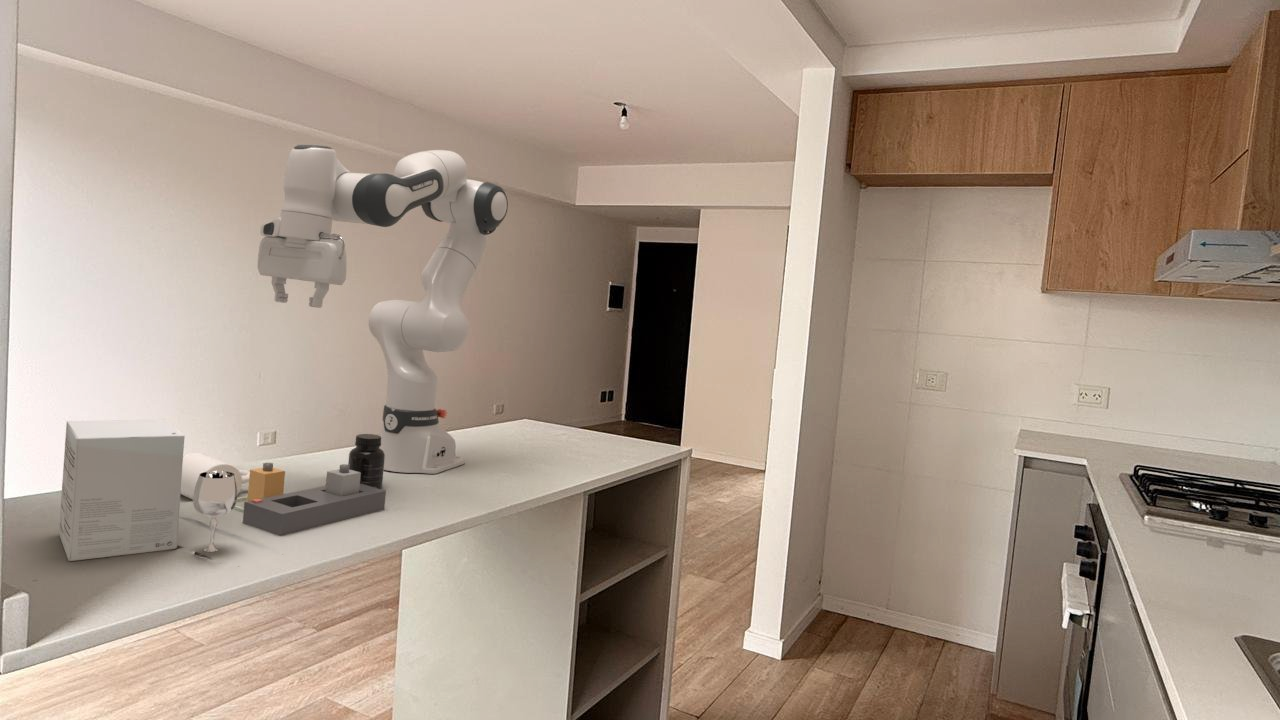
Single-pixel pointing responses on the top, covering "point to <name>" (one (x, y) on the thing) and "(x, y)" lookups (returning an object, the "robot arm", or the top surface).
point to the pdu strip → (310, 509)
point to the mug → (205, 463)
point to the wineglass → (214, 499)
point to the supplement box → (120, 488)
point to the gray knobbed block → (343, 481)
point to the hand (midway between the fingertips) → (297, 304)
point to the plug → (265, 482)
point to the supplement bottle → (368, 460)
